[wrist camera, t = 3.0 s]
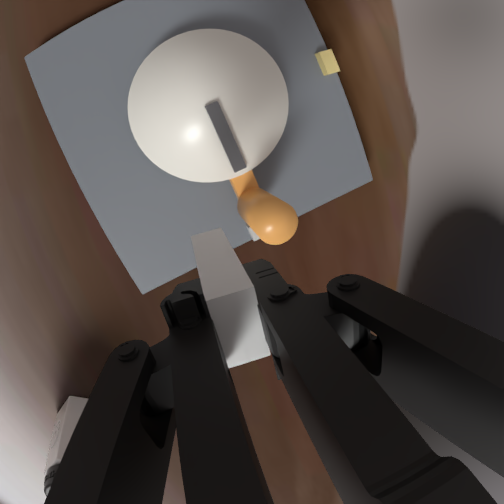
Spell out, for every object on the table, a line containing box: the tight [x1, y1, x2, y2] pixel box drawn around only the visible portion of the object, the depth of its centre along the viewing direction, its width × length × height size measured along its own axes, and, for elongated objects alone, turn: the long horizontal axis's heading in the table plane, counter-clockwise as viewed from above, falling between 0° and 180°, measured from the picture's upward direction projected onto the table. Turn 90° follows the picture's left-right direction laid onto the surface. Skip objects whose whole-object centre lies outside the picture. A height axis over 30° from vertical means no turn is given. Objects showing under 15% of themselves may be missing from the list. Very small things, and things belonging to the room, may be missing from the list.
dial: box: [128, 29, 298, 245], centre depth 19 cm, size 15×11×6 cm
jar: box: [44, 396, 88, 496], centre depth 26 cm, size 9×8×12 cm
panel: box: [24, 0, 373, 294], centre depth 22 cm, size 22×22×3 cm
